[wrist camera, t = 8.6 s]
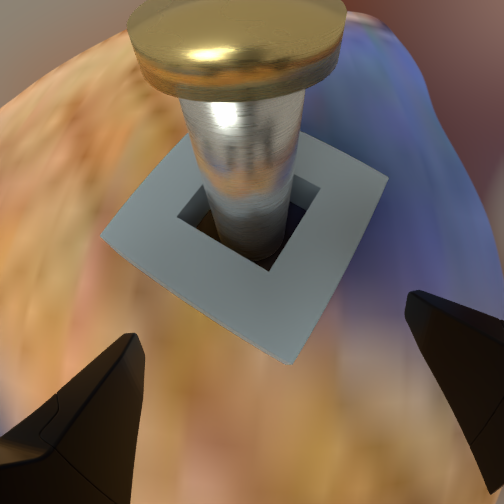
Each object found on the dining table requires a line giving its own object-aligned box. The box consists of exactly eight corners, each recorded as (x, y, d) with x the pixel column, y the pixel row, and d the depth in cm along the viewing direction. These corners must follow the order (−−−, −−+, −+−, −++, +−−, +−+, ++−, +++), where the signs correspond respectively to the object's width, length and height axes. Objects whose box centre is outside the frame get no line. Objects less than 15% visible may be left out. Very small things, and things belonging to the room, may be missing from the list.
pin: (315, 243, 18) (392, 23, 5) (236, 292, 17) (171, 82, 4) (264, 177, 20) (265, -34, 7) (190, 218, 19) (108, 11, 6)
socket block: (373, 202, 20) (388, 177, 17) (285, 364, 16) (292, 364, 13) (225, 127, 22) (222, 98, 19) (119, 254, 18) (99, 235, 15)
